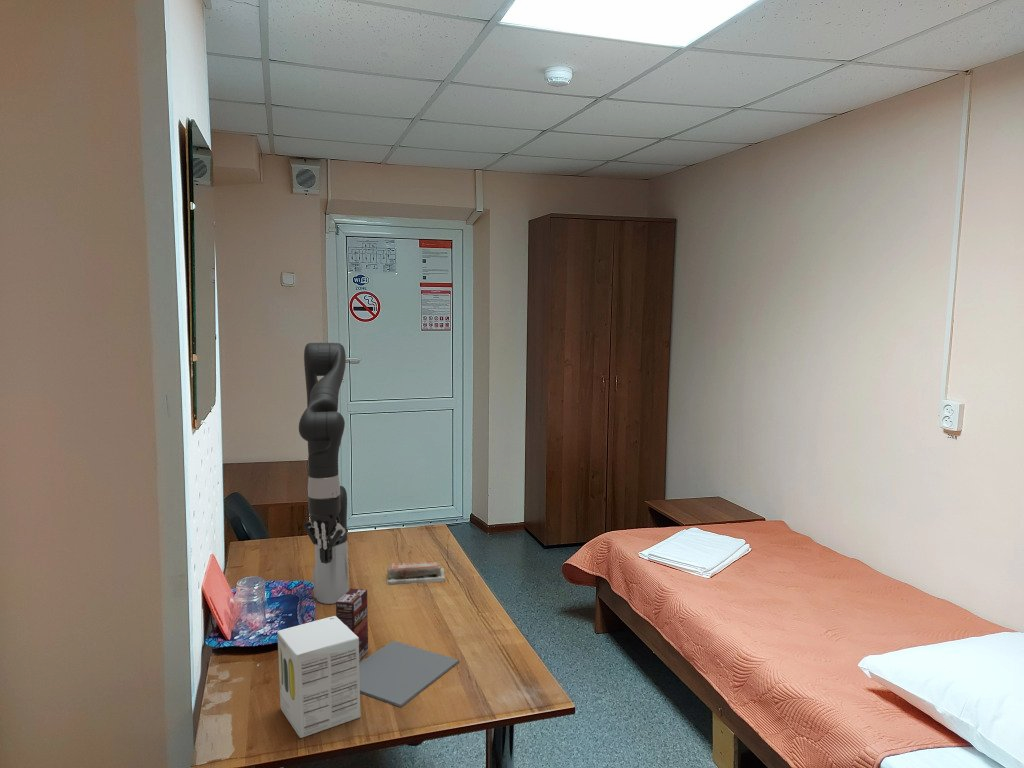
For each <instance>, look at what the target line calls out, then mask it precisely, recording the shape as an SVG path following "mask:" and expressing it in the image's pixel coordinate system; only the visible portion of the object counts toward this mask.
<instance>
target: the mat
mask: <svg viewBox="0 0 1024 768" xmlns="http://www.w3.org/2000/svg"><path fill="white" fill-rule="evenodd" d="M458 662H459V663H460V659H457V658H454V657H451V656H447V655H443V654H440V653H437V652H434V651H430V650H427V649H423V648H420V647H417V646H414V645H410V644H407V643H404V642H399V641H397V640H392V641H390V642H389V643H388V644H386V645H384V646H383V647H381V648H380V649H378V650H377V651H375V652H373V653H372V654H370V655H369V656H367V657H366V658H364V659H361V660H360V661H359V676H360V694H362V695H365V696H368V697H370V698H374V699H375V700H378V701H381V702H385V703H388V704H389V705H393V706H396V707H398V708H402V707H403V706H404V705H406V704H408V703H409V702H410V701H411V700H412V699H414V698H415V697H416V696H417V695H419V694H420V693H422V692H423V691H424V690H425V689H427V688H428V687H429V686H430V685H432V684H433V683H434V682H436V681H437V680H439V678H441V677H442V676H444V675H445V674H446V673H447V672H449V671H450V670H451V669H452V668H454V667H455V666H456V665H458V664H459V663H458ZM457 663H458V664H457ZM455 664H456V665H455ZM454 665H455V666H454ZM453 666H454V667H453ZM450 668H451V669H450ZM449 669H450V670H449ZM445 672H446V673H445ZM444 673H445V674H444ZM435 680H436V681H435Z"/></svg>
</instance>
